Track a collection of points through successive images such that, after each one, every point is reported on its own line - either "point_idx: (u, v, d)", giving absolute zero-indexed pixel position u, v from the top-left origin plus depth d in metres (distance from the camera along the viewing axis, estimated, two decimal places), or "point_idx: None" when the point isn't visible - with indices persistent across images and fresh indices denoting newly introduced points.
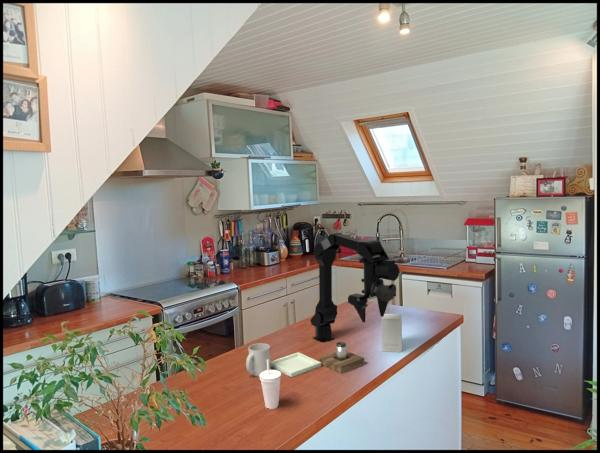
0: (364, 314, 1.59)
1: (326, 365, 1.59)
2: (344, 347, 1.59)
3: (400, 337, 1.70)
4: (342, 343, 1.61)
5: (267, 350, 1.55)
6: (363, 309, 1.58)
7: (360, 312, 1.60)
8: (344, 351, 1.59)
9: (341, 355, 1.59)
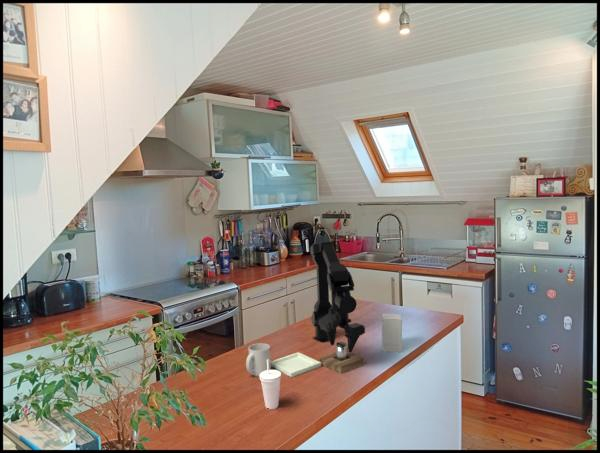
0: (328, 337, 1.64)
1: (326, 365, 1.59)
2: (344, 347, 1.59)
3: (400, 337, 1.70)
4: (342, 343, 1.61)
5: (267, 350, 1.55)
6: (326, 331, 1.64)
7: None
8: (344, 351, 1.59)
9: (341, 355, 1.59)
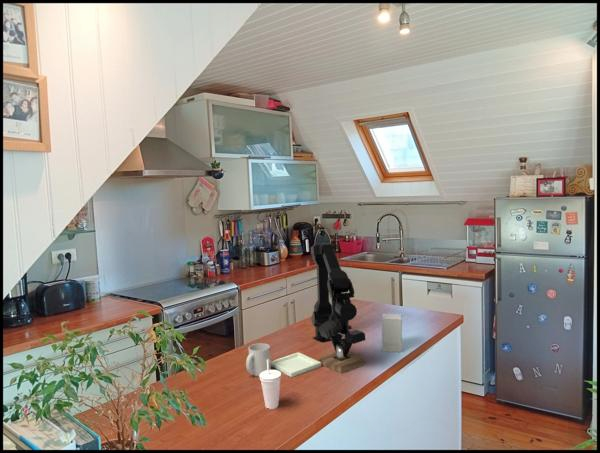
0: (334, 345, 1.62)
1: (326, 365, 1.59)
2: None
3: (400, 337, 1.70)
4: None
5: (267, 350, 1.55)
6: (331, 339, 1.62)
7: None
8: None
9: (341, 355, 1.59)
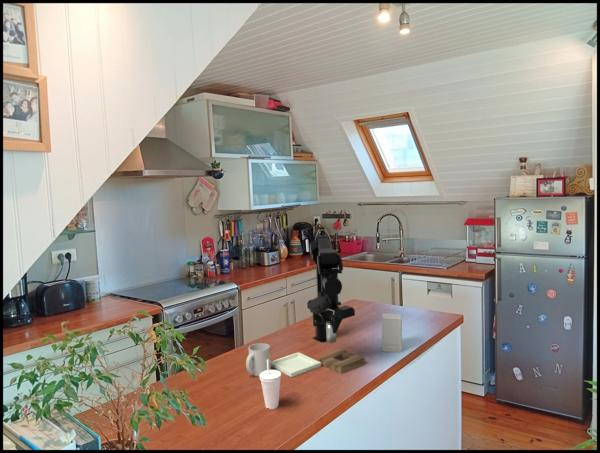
0: (323, 322, 1.61)
1: (326, 365, 1.59)
2: None
3: (400, 337, 1.70)
4: None
5: (267, 350, 1.55)
6: (321, 316, 1.61)
7: None
8: None
9: (331, 332, 1.58)
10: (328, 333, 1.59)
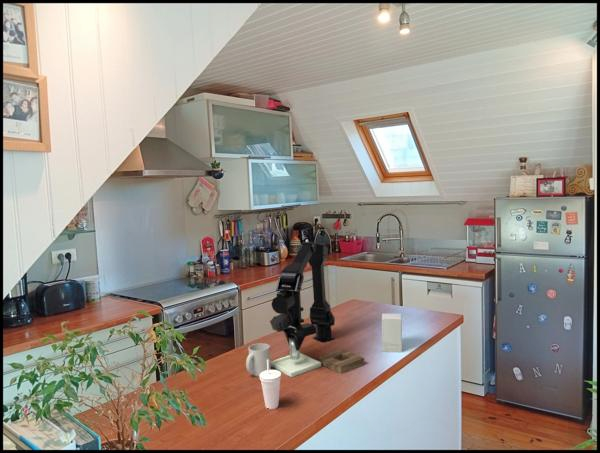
0: (287, 339, 1.62)
1: (326, 365, 1.59)
2: None
3: (400, 337, 1.70)
4: None
5: (267, 350, 1.55)
6: None
7: None
8: None
9: (293, 349, 1.59)
10: (291, 350, 1.59)
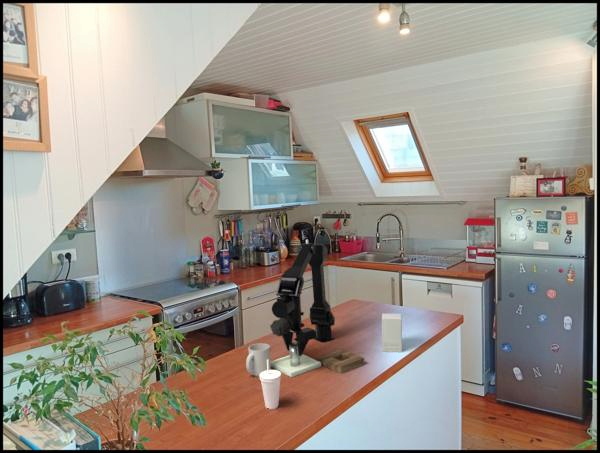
0: (285, 342, 1.63)
1: (326, 365, 1.59)
2: (297, 347, 1.59)
3: (400, 337, 1.70)
4: (295, 343, 1.61)
5: (267, 350, 1.55)
6: (282, 336, 1.63)
7: None
8: (297, 351, 1.60)
9: (294, 356, 1.59)
10: (291, 357, 1.60)
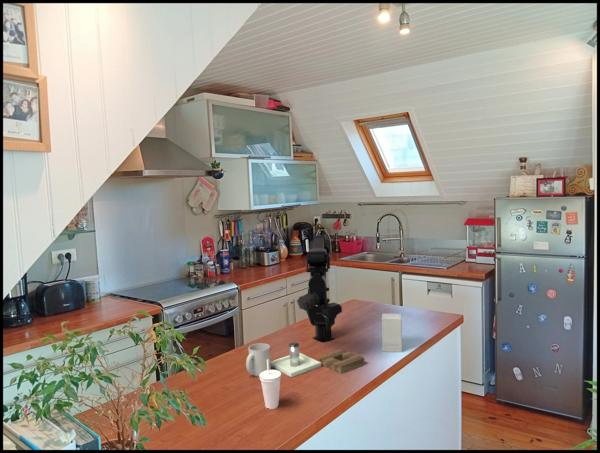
0: (308, 316, 1.69)
1: (326, 365, 1.59)
2: (297, 347, 1.59)
3: (400, 337, 1.70)
4: (295, 343, 1.61)
5: (267, 350, 1.55)
6: (306, 310, 1.70)
7: None
8: (297, 351, 1.59)
9: (294, 356, 1.59)
10: (291, 357, 1.60)
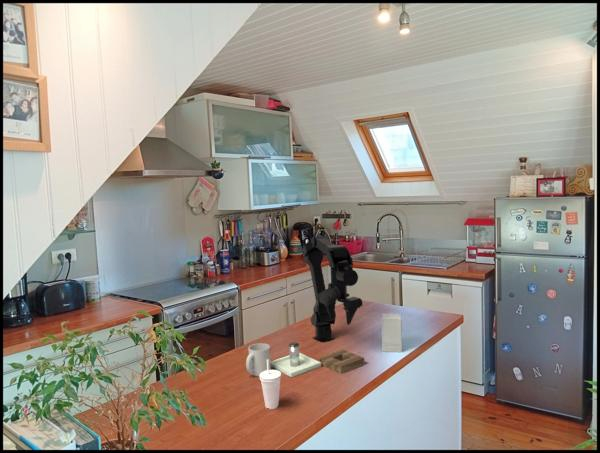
0: (328, 311, 1.74)
1: (326, 365, 1.59)
2: (296, 347, 1.59)
3: (400, 337, 1.70)
4: (295, 343, 1.61)
5: (267, 350, 1.55)
6: (325, 305, 1.74)
7: None
8: (297, 351, 1.59)
9: (294, 356, 1.59)
10: (291, 357, 1.60)
